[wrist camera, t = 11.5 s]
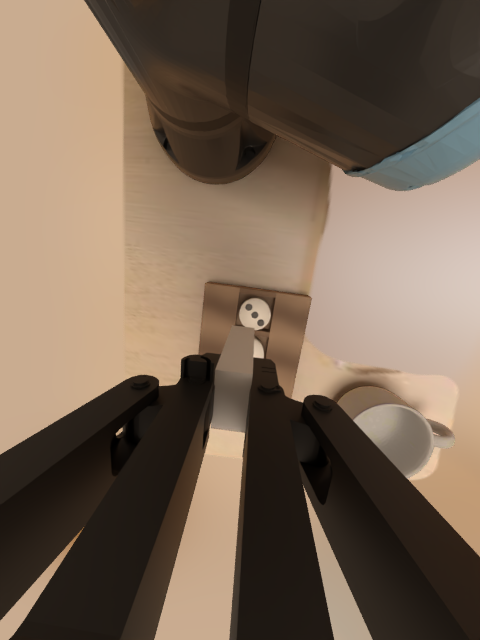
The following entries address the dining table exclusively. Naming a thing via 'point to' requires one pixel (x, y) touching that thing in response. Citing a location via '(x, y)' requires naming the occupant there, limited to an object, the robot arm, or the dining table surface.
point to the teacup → (396, 427)
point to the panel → (277, 336)
